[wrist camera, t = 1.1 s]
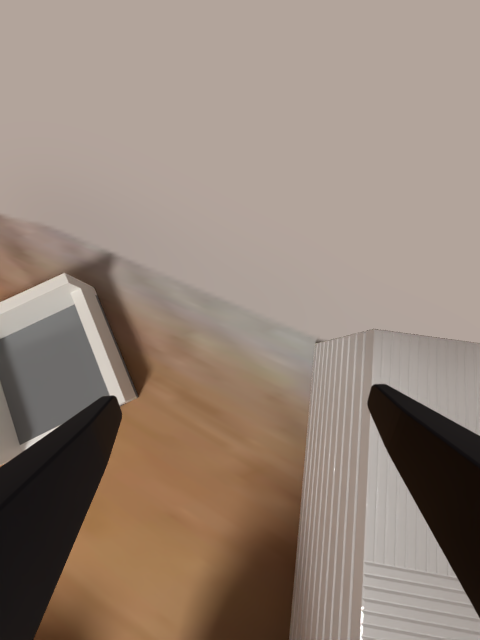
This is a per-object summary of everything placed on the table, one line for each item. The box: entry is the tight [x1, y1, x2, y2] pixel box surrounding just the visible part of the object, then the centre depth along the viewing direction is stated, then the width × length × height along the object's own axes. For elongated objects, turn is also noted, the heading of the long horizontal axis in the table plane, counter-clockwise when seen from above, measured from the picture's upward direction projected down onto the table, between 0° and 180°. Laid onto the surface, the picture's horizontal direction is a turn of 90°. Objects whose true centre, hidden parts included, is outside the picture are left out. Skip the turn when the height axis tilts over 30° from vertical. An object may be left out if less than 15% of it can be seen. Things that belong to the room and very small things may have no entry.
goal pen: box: [0, 273, 138, 465], centre depth 21 cm, size 12×12×4 cm
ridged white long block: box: [289, 329, 480, 640], centre depth 15 cm, size 32×11×11 cm, turn 172°
